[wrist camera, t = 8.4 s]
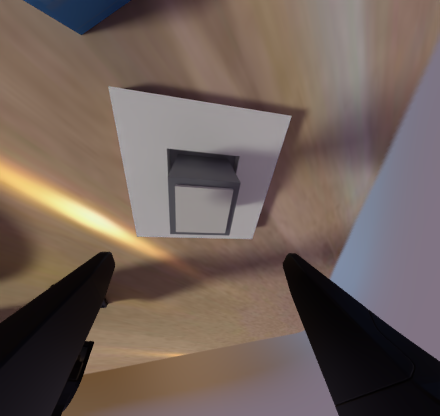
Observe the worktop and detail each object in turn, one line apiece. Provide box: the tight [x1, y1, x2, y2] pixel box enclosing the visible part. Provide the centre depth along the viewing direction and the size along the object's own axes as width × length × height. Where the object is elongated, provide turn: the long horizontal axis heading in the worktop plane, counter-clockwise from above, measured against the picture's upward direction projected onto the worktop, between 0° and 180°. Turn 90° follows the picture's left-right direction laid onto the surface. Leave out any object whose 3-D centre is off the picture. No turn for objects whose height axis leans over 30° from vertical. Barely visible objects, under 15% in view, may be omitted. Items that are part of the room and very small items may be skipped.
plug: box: [168, 154, 241, 236], centre depth 15 cm, size 5×5×6 cm
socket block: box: [108, 86, 292, 239], centre depth 17 cm, size 14×14×2 cm
